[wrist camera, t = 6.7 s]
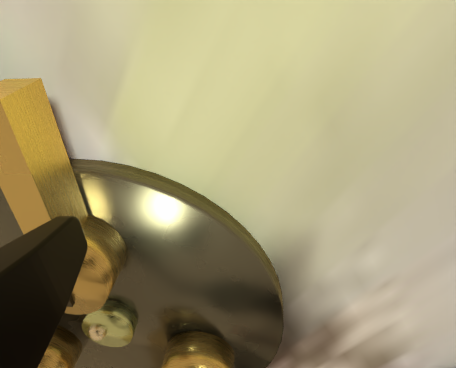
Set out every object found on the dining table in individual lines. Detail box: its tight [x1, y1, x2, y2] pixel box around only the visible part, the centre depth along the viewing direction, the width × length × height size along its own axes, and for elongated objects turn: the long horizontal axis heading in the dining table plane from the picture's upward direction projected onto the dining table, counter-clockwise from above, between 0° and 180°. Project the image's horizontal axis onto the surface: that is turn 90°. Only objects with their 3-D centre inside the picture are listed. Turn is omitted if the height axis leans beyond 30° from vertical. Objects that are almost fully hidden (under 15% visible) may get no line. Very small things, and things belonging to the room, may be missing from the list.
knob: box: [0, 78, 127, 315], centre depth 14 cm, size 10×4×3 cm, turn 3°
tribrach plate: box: [0, 159, 283, 368], centre depth 20 cm, size 19×19×3 cm
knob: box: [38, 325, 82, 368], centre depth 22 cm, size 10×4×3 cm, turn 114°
